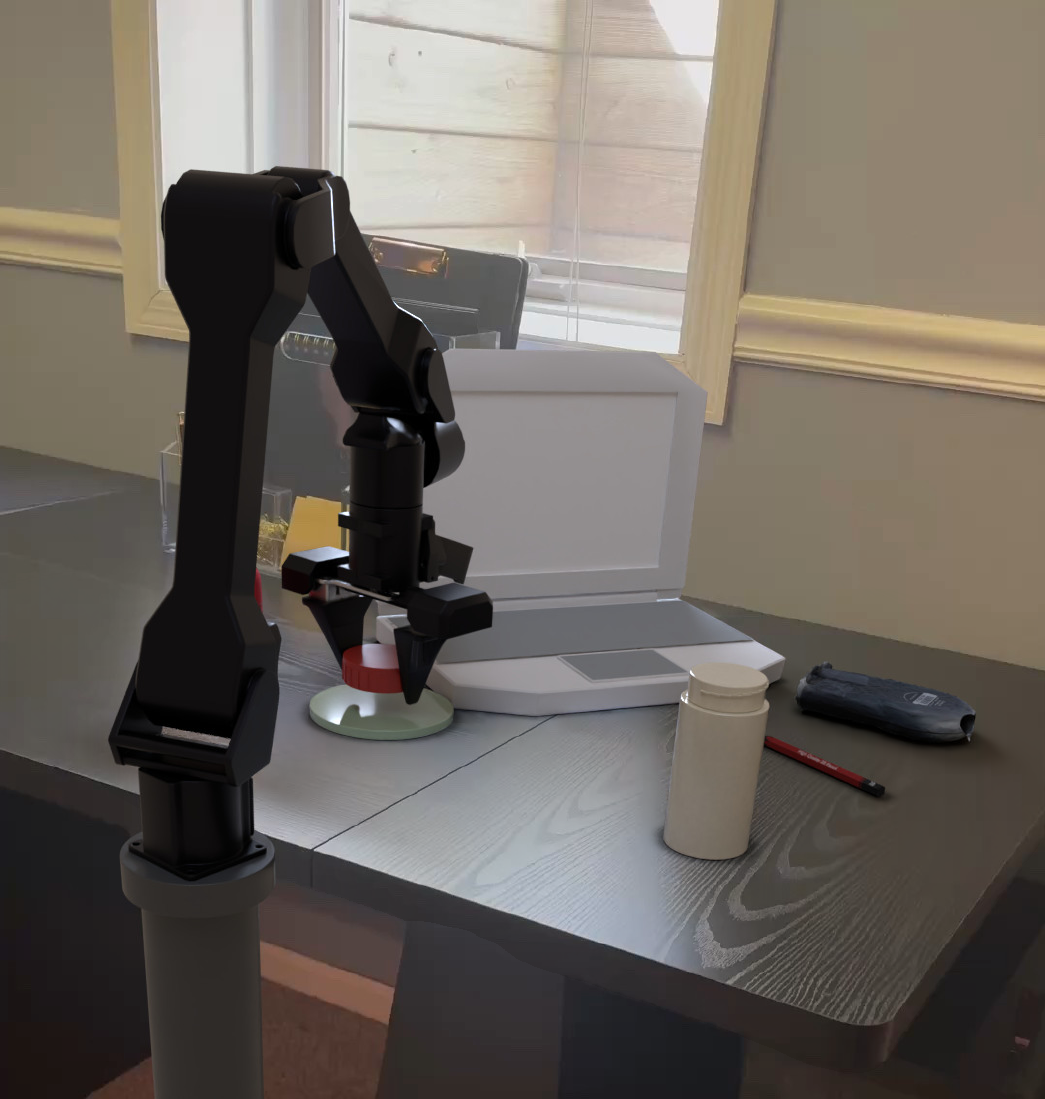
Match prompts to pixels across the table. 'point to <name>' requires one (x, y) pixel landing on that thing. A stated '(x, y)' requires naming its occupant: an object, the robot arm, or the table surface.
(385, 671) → the lid
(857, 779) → the pencil
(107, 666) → the table surface
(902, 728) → the electronic device
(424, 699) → the saucer
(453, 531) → the laptop
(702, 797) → the bottle
